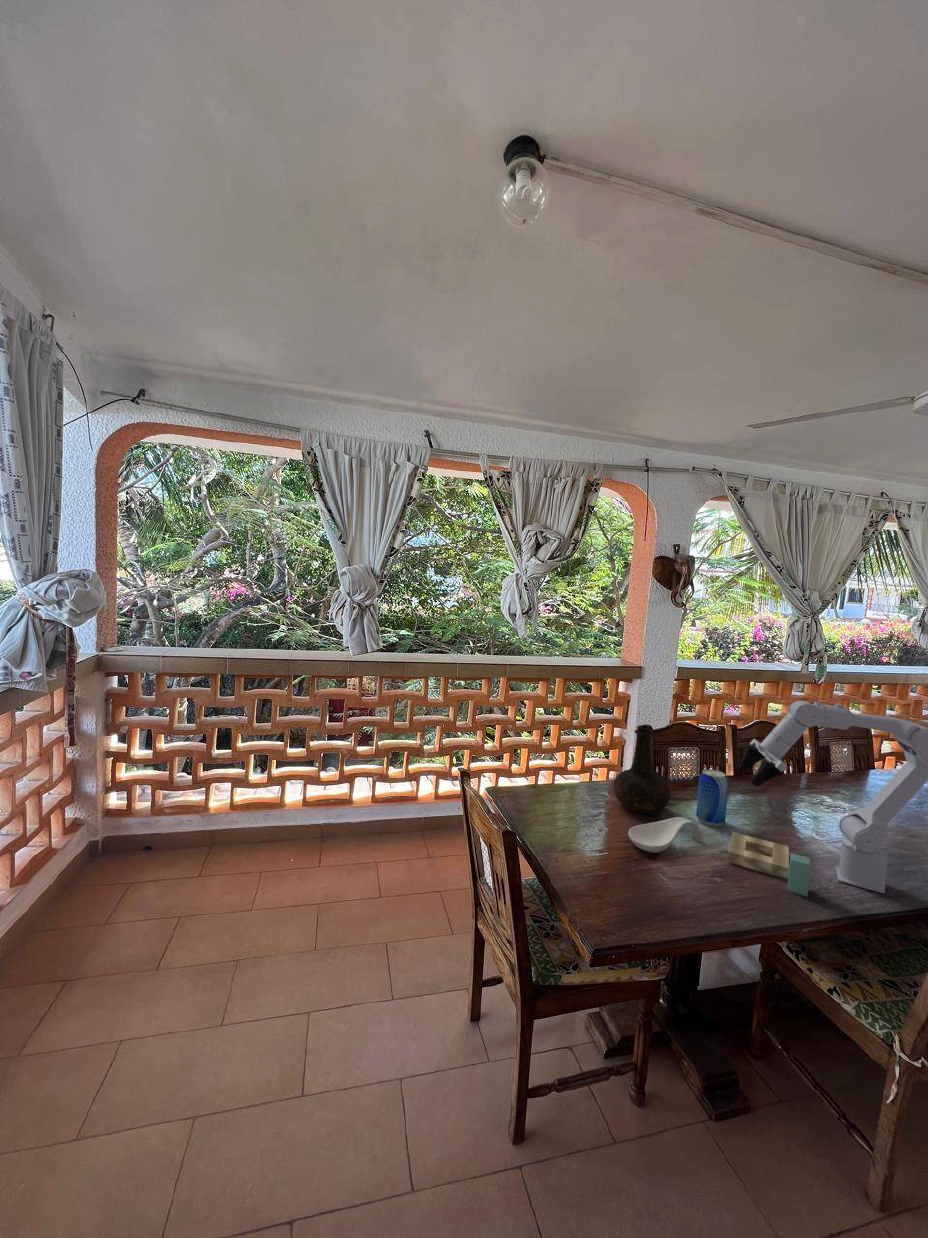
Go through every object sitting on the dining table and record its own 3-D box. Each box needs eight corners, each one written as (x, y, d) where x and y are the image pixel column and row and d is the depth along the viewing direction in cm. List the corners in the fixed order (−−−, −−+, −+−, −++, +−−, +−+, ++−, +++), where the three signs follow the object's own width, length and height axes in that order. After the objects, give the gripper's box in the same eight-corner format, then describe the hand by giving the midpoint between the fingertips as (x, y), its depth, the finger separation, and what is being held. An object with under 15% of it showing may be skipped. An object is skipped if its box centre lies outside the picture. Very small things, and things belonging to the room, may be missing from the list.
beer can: (690, 817, 167) (693, 769, 166) (709, 814, 170) (713, 767, 169) (710, 829, 159) (714, 779, 158) (731, 826, 162) (735, 776, 161)
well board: (787, 856, 144) (788, 846, 144) (787, 879, 132) (788, 868, 132) (731, 841, 151) (732, 832, 151) (727, 862, 139) (728, 851, 139)
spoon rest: (646, 861, 138) (648, 835, 138) (619, 840, 149) (620, 817, 149) (713, 849, 147) (715, 825, 146) (682, 830, 157) (684, 808, 157)
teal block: (806, 889, 128) (809, 858, 128) (807, 896, 125) (810, 865, 124) (788, 883, 130) (790, 853, 130) (788, 891, 127) (790, 859, 126)
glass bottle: (680, 816, 167) (687, 732, 165) (636, 823, 160) (642, 735, 159) (642, 795, 183) (648, 718, 182) (601, 800, 177) (606, 721, 175)
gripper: (755, 720, 143) (724, 757, 146) (783, 742, 129) (748, 782, 132) (775, 734, 144) (743, 770, 146) (806, 757, 130) (769, 797, 132)
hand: (747, 777), depth 139 cm, fingers open, 7 cm apart
